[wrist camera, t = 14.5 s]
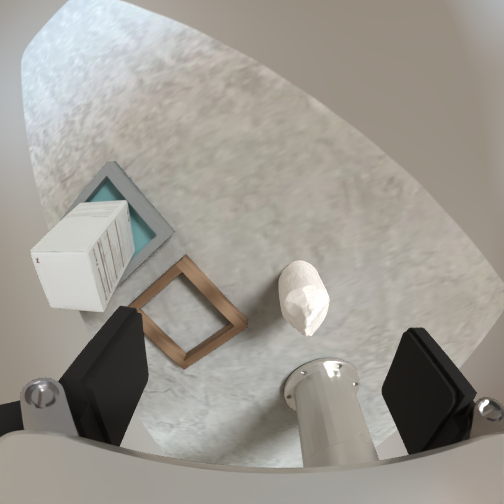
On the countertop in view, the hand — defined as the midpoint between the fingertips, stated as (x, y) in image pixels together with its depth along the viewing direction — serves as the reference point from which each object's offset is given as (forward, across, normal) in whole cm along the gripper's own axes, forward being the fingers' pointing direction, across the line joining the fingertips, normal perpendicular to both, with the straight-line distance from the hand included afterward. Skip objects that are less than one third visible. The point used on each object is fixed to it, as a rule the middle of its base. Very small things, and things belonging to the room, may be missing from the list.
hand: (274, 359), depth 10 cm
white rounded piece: (+28, -6, +8) cm, 30 cm away
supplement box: (+27, +20, +3) cm, 33 cm away
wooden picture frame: (+28, +9, +15) cm, 33 cm away
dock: (+28, +20, +3) cm, 35 cm away
